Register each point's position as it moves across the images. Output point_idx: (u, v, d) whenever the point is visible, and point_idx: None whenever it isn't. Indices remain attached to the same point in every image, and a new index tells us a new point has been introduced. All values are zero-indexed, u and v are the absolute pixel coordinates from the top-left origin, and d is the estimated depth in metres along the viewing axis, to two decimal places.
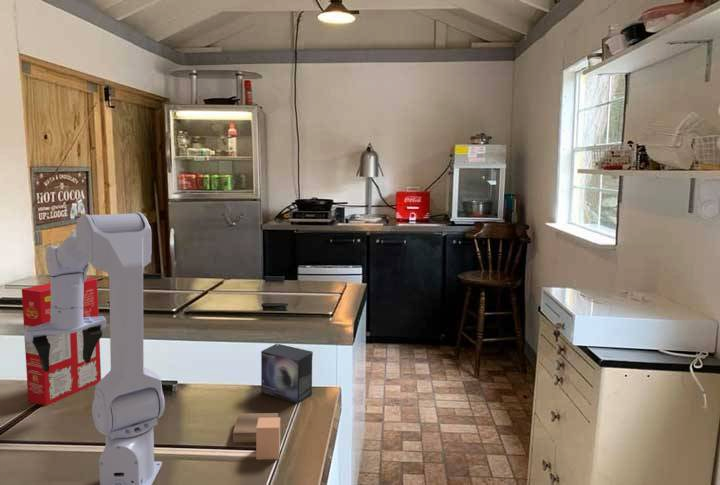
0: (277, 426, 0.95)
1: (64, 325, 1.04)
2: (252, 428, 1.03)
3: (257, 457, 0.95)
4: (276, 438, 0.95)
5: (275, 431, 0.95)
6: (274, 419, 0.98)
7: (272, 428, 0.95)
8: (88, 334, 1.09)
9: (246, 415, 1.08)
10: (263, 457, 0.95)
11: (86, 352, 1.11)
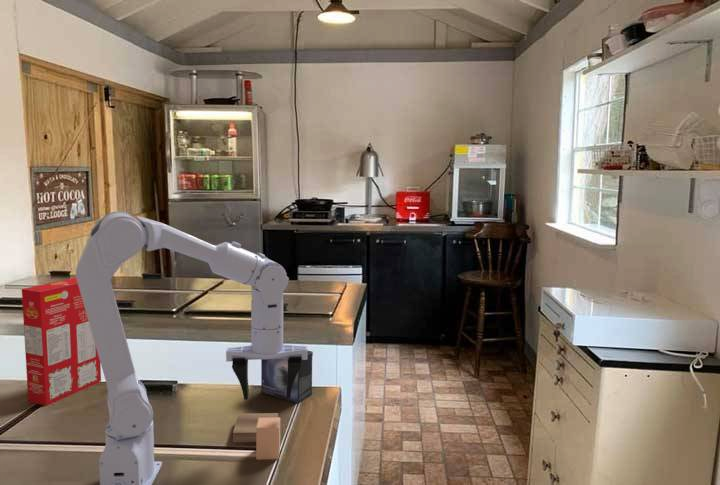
0: (277, 426, 0.95)
1: (259, 348, 0.94)
2: (252, 428, 1.03)
3: (257, 457, 0.95)
4: (276, 438, 0.95)
5: (275, 431, 0.95)
6: (274, 419, 0.98)
7: (272, 428, 0.95)
8: None
9: (246, 415, 1.08)
10: (263, 457, 0.95)
11: (287, 385, 0.98)
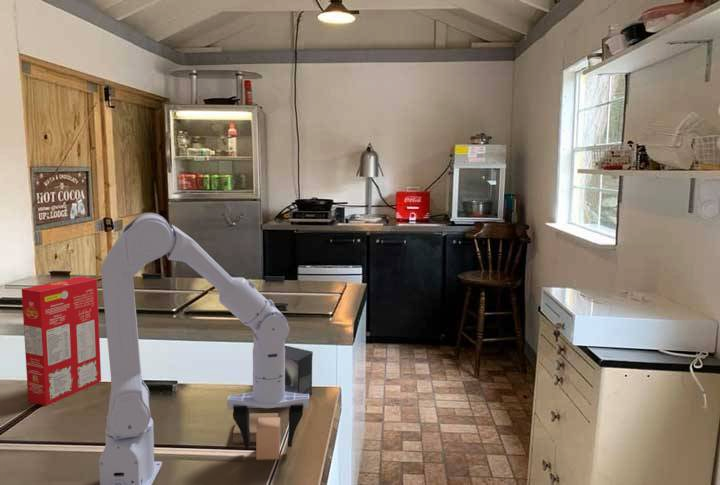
0: (277, 426, 0.95)
1: (260, 397, 0.93)
2: (252, 428, 1.03)
3: (257, 457, 0.95)
4: (276, 438, 0.95)
5: (275, 431, 0.95)
6: (274, 419, 0.98)
7: (272, 428, 0.95)
8: None
9: None
10: (263, 457, 0.95)
11: (288, 434, 0.97)
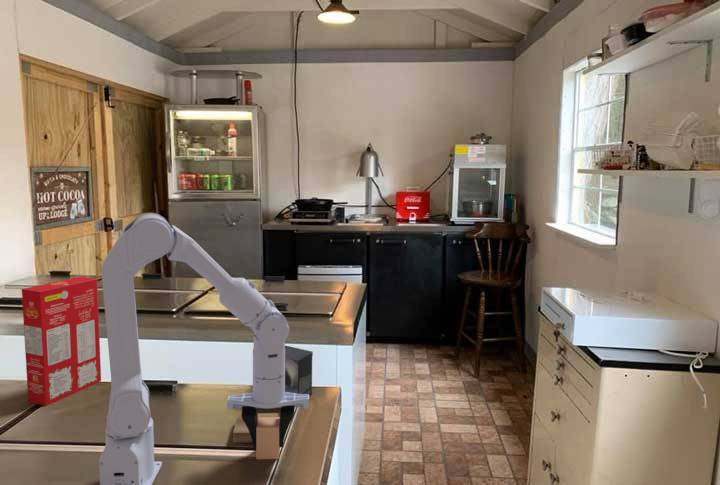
0: (277, 426, 0.95)
1: (260, 398, 0.93)
2: None
3: (257, 457, 0.95)
4: (276, 438, 0.95)
5: (275, 431, 0.95)
6: (274, 419, 0.98)
7: (272, 428, 0.95)
8: (280, 413, 0.95)
9: None
10: (263, 457, 0.95)
11: None
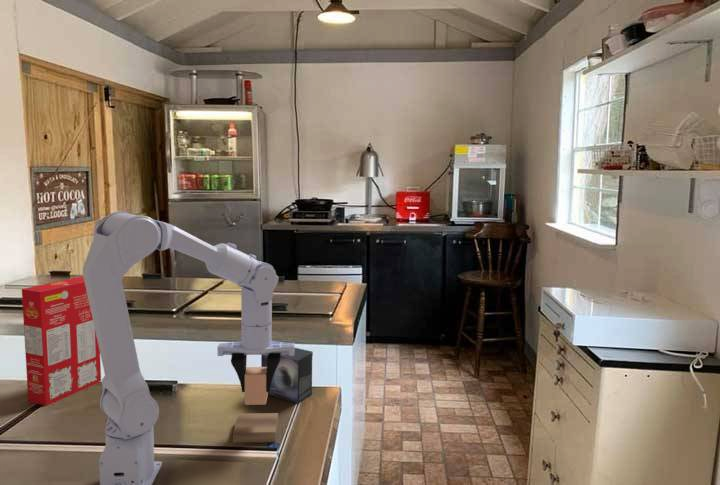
0: (264, 373, 1.02)
1: (248, 344, 1.00)
2: (252, 428, 1.03)
3: (245, 402, 1.02)
4: (263, 385, 1.02)
5: (262, 378, 1.01)
6: (262, 368, 1.04)
7: (259, 375, 1.01)
8: (267, 359, 1.02)
9: (246, 415, 1.08)
10: (251, 402, 1.02)
11: None
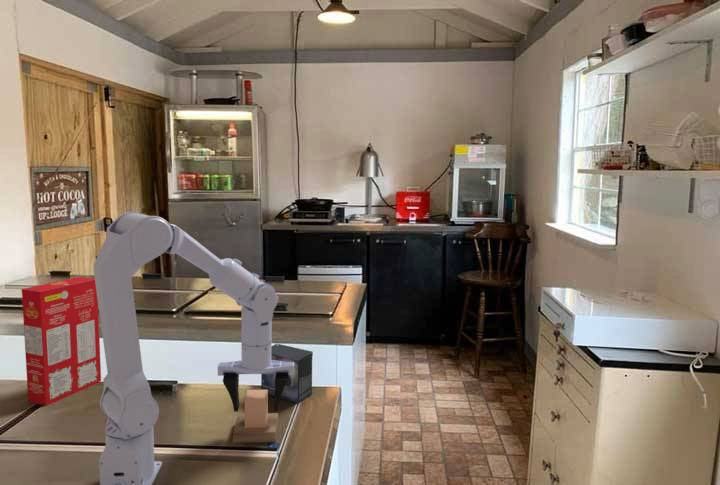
0: (264, 397, 1.02)
1: (248, 364, 1.00)
2: (252, 428, 1.03)
3: (245, 425, 1.03)
4: (263, 408, 1.02)
5: (262, 401, 1.02)
6: (262, 391, 1.05)
7: (259, 398, 1.02)
8: None
9: None
10: (251, 426, 1.03)
11: None
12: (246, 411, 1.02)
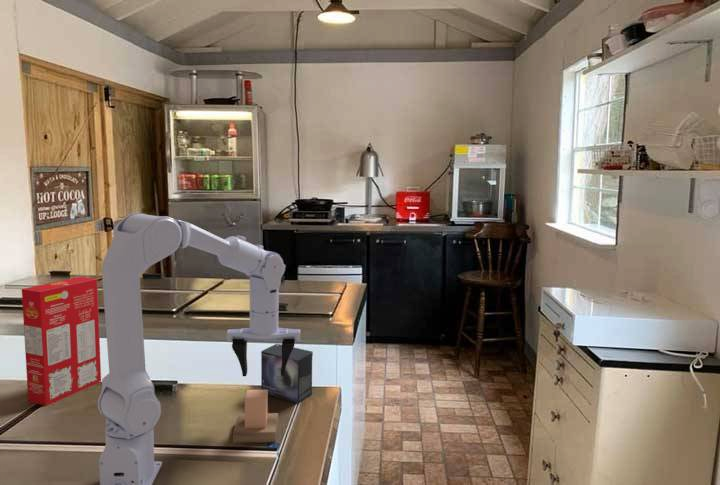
0: (264, 397, 1.02)
1: (256, 330, 1.05)
2: (252, 428, 1.03)
3: (245, 425, 1.03)
4: (263, 408, 1.02)
5: (262, 401, 1.02)
6: (262, 391, 1.05)
7: (259, 398, 1.02)
8: None
9: None
10: (251, 426, 1.03)
11: None
12: (246, 411, 1.02)
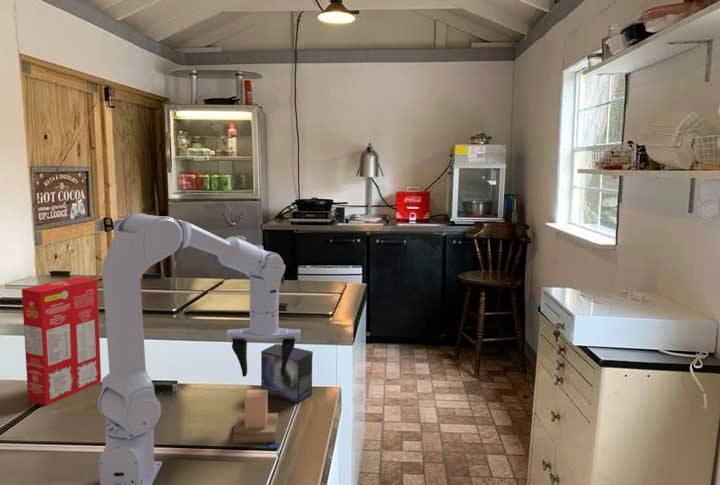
0: (264, 397, 1.02)
1: (256, 330, 1.05)
2: (252, 428, 1.03)
3: (245, 425, 1.03)
4: (263, 408, 1.02)
5: (262, 401, 1.02)
6: (262, 391, 1.05)
7: (259, 398, 1.02)
8: None
9: None
10: (251, 426, 1.03)
11: None
12: (246, 411, 1.02)
